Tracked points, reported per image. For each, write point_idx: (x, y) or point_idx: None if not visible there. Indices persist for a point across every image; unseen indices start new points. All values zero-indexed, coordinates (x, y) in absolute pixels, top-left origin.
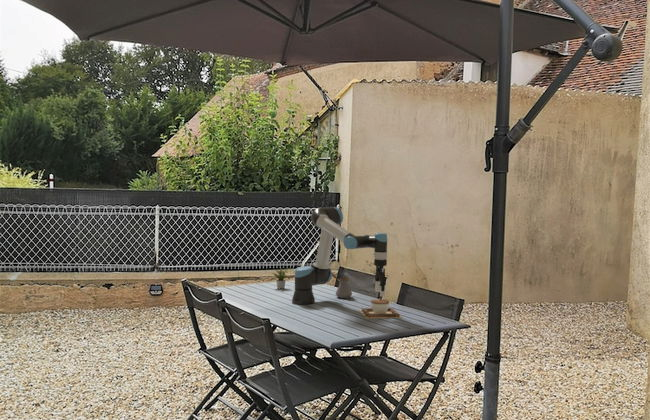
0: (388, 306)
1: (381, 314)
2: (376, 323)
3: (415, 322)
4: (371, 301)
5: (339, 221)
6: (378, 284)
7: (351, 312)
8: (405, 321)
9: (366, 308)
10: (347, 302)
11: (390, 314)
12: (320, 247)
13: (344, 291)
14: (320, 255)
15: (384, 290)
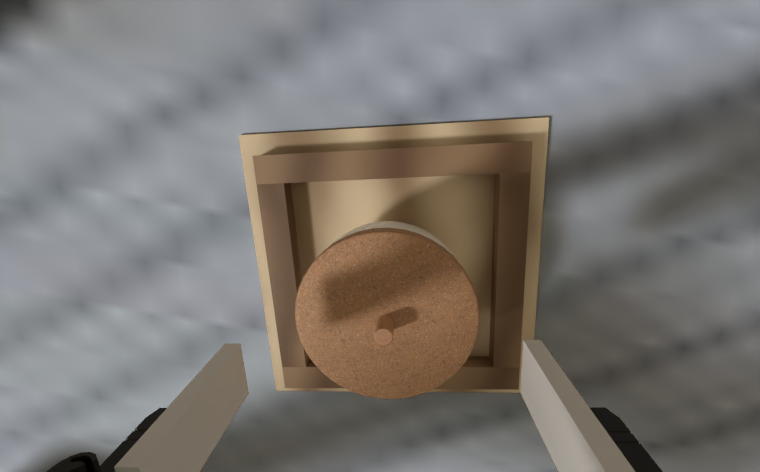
0: (423, 230)
1: (516, 292)
2: (691, 348)
3: (752, 34)
4: (395, 398)
5: None
6: (184, 442)
7: (327, 437)
8: (687, 120)
9: (288, 358)
10: (15, 411)
11: (527, 222)
12: None
13: None
14: None
15: (579, 400)
